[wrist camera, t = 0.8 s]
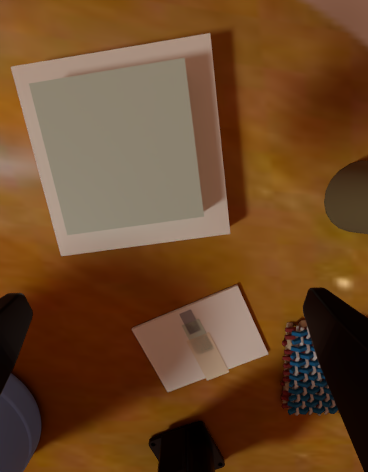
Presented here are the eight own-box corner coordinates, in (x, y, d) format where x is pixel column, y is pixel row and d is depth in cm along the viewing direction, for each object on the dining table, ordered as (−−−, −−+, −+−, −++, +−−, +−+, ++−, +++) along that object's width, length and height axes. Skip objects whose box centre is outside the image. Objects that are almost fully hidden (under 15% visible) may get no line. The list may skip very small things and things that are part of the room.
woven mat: (280, 316, 25) (288, 328, 23) (390, 311, 24) (408, 323, 22) (276, 403, 27) (283, 421, 25) (376, 400, 27) (391, 417, 25)
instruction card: (268, 354, 25) (269, 356, 25) (169, 391, 26) (168, 394, 26) (236, 284, 23) (237, 285, 23) (132, 327, 24) (131, 329, 24)
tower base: (226, 228, 22) (234, 240, 18) (71, 249, 23) (48, 264, 19) (207, 47, 19) (213, 14, 15) (28, 77, 19) (-12, 53, 16)
